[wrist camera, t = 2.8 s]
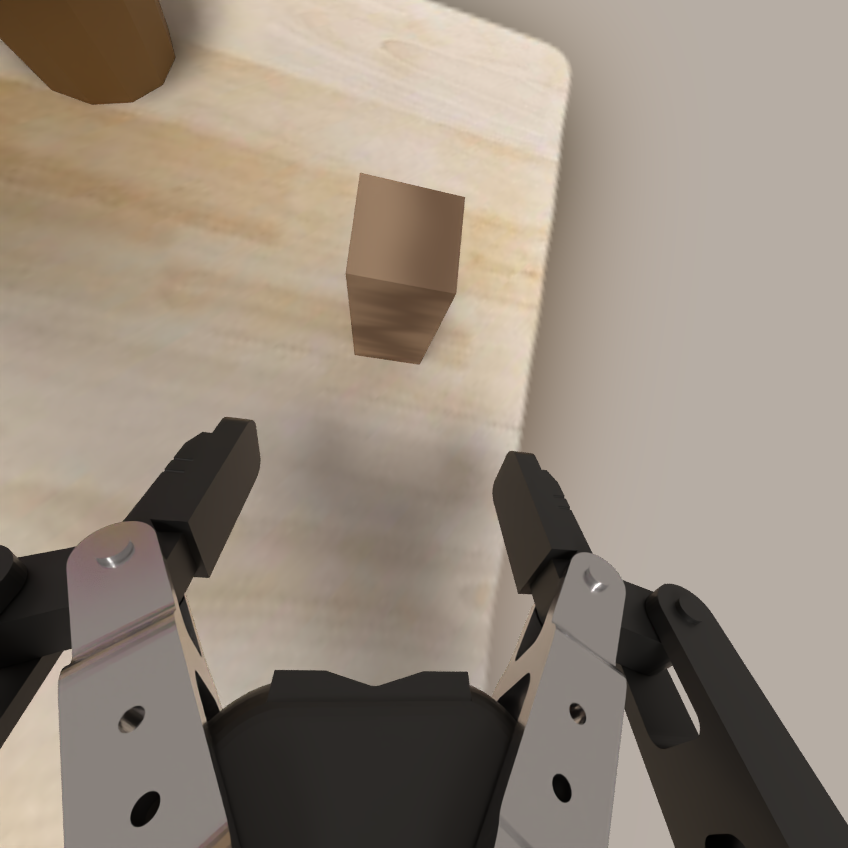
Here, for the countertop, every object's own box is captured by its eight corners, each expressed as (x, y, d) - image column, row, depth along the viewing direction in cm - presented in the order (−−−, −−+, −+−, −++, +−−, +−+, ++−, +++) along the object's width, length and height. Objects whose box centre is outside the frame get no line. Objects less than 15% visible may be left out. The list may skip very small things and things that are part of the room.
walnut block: (354, 354, 25) (345, 273, 15) (363, 293, 26) (360, 172, 15) (419, 364, 26) (455, 293, 15) (425, 304, 27) (464, 197, 16)
